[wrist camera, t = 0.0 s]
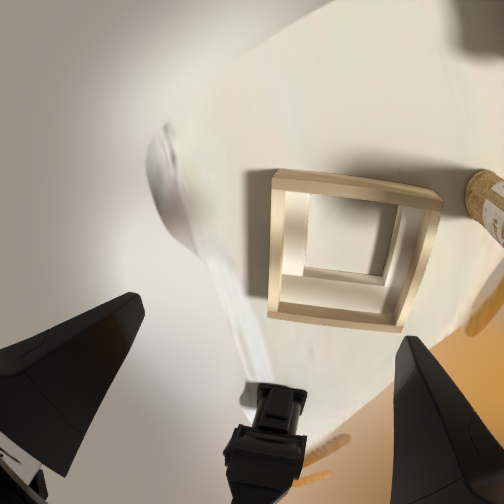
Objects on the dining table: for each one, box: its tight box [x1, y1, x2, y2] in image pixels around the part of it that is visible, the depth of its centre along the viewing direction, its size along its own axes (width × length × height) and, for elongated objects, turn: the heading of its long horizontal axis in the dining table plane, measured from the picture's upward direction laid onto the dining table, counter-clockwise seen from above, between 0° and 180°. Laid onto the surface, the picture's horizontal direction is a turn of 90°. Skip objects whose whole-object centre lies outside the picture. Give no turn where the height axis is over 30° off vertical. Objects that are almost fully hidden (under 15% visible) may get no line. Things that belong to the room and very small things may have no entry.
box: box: [267, 169, 444, 333], centre depth 21 cm, size 12×12×3 cm
